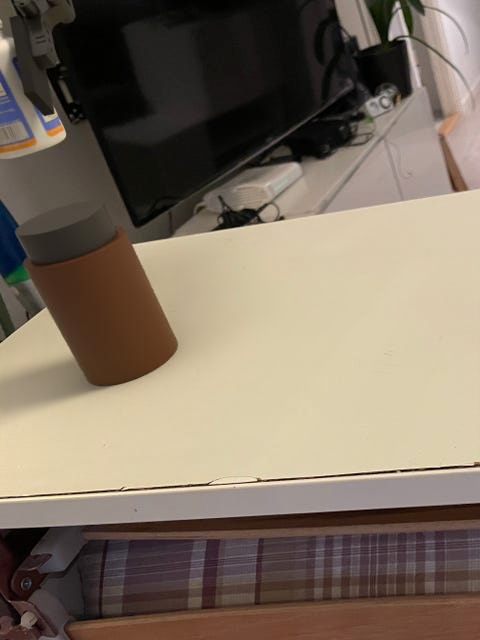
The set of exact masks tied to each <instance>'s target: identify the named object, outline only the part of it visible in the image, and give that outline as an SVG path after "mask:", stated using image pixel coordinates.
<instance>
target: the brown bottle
mask: <svg viewBox="0 0 480 640" xmlns="http://www.w3.org/2000/svg"><path fill="white" fill-rule="evenodd" d="M14 233H15V236H16V238H17V239H18V241H19V243H20V245H21V247H22V249H23V251H24V253H25V254H26V258H25V259H24V260H23V262H22V266H23V268H24V270H25V271H26V273H27V275H28V276H29V278H30V280H31V282H32V284H33V286H34V288H35V289H36V291H37V293H38V294H39V296H40V298H41V300H42V302H43V304H44V306H45V307H46V309H47V311H48V313H49V314H50V317H51V318H52V320H53V322H54V323H55V325H56V327H57V329H58V331H59V332H60V334H61V336H62V338H63V340H64V341H65V343H66V345H67V347H68V349H69V350H70V353H71V354H72V355H73V357H74V359H75V361H76V363H77V365H78V366H79V368H80V370H81V372H82V374H83V376H84V377H85V379H86V380H87V382H88V383H90V384H92V385H96V386H101V387H102V386H104V387H105V386H114V385H119V384H123V383H126V382H130V381H132V380H135V379H136V380H137V379H138V378H140V377H143V376H145V375H147V374H149V373H151V372H153V371H155V370H156V369H158V368H160V367H161V366H162V365H164V364H166V362H167V361H168V360H170V359H171V358H172V357H173V356H174V355H175V353H176V351H177V350H178V347H179V341H178V340H177V337H176V335H175V333H174V331H173V329H172V326H171V324H170V323H169V320H168V318H167V315H166V314H165V312H164V310H163V307H162V305H161V303H160V301H159V299H158V297H157V295H156V293H155V290H154V288H153V286H152V284H151V282H150V280H149V278H148V275H147V274H146V271H145V269H144V267H143V264H142V263H141V261H140V259H139V256H138V255H137V252H136V249H135V248H134V245H133V244H132V241H131V239H130V237H129V235H128V233H127V231H126V229H125V227H123V226H121V225H115V224H114V221H113V219H112V218H111V215H110V213H109V211H108V209H107V207H106V204H105V202H103V201H102V200H98V199H95V200H94V199H91V200H84V201H78V202H73V203H70V204H66V205H62V206H59V207H56V208H53V209H49V210H47V211H44V212H42V213H40V214H38V215H35V216H34V217H32V218H30V219H28V220H26V221H24V222H23V223H21V224H20V225H19V226H18V227H16V229H15V230H14Z"/></svg>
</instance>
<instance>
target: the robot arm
mask: <svg viewBox="0 0 480 640" xmlns="http://www.w3.org/2000/svg"><path fill="white" fill-rule="evenodd" d="M12 1H13V2H14V3H13V5H14V6H15V7H16V8H17V10H18V11H19V12H20V13H21V14H18V15H14V16H10V17H8V18H9V19H8V20H9V24H10V29H11V35H12V38H13V40H14V45H15V50H16V55H17V60H18V65H19V70H20V75H21V80H22V85H23V91H24V95H25V96H26V97H27V98H28V99H29V100H30V101H31V102H32V104H33V105H34V106H35V107H36V108H37V109H38V110H39V111H40V112H41V113H42V114H43V115H44V116H48V115H52V114H55V112H54V108H55V106H54V103H53V98H52V93H51V89H50V88H51V87H50V84H49V79H48V74H47V70H48V69H50V68H56V67H57V62H58V57H57V53H56V49H55V42H54V37H53V30H54V27H55V26H56V25H58V24H59V23H63V24H70V23H72V22H74V21H75V18H76V11H75V8H74V4H73V1H72V0H12ZM53 106H54V107H53Z"/></svg>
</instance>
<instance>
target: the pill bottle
mask: <svg viewBox="0 0 480 640" xmlns="http://www.w3.org/2000/svg"><path fill="white" fill-rule="evenodd" d="M3 27H4V25H3V21H2V19H0V160H9V159H10V160H11V159H15V158H20V157H23V156H27V155H31V154H34V153H37V152H40V151H43V150H45V149H48V148H51V147H54V146H56V145H58V144H60V143H61V142H63V141H64V140H65V139H66V137H67V133H66V132H67V131H66V129H65V127H64V125H63V122H62V121H61V118H60V116H59V114H58V113H57V109H56V108H55V106H54V105H53V107H54V112H55V114H52V115H48V116H44V115H43V114H42V113H41V112H40V111H39V110H38V109H37V108H36V107H35V106H34V105H33V104H32V102H31V101H30V100H29V99H28V98H27V97H26V96H25V95H24V91H23V85H22V80H21V75H20V70H19V65H18V60H17V55H16V50H15V45H14V40H13V36H12V37H11V36H6V35H5V34H4V32H3V30H2V28H3Z"/></svg>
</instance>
